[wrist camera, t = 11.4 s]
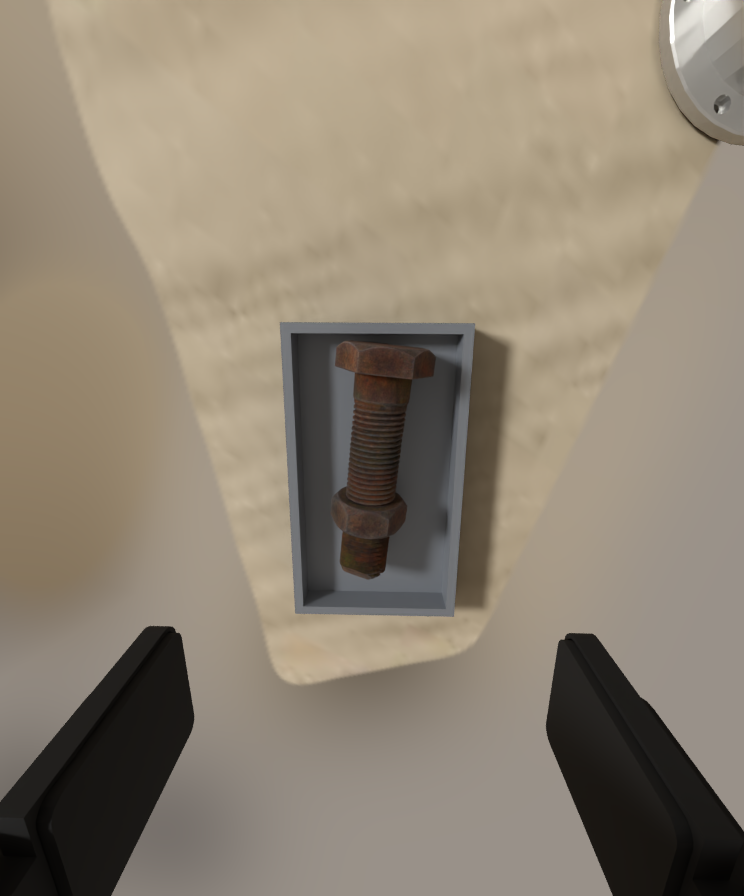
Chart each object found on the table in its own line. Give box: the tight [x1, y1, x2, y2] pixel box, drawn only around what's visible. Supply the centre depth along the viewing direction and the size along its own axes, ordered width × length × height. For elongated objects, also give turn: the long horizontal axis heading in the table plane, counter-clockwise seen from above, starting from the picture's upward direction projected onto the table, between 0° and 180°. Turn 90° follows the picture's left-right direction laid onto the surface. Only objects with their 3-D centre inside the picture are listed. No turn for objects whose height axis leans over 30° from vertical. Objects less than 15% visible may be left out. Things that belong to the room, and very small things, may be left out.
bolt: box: [330, 340, 436, 580], centre depth 24 cm, size 6×5×15 cm
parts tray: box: [280, 322, 475, 617], centre depth 26 cm, size 11×20×2 cm, turn 0°
